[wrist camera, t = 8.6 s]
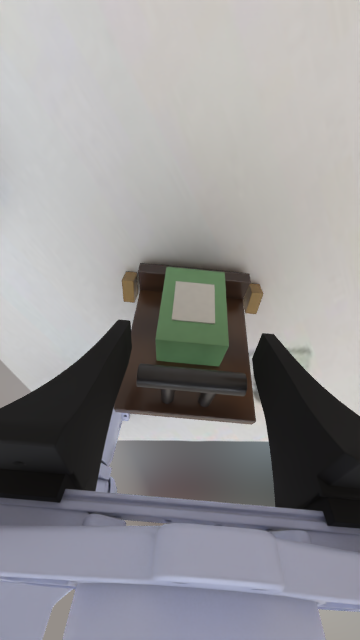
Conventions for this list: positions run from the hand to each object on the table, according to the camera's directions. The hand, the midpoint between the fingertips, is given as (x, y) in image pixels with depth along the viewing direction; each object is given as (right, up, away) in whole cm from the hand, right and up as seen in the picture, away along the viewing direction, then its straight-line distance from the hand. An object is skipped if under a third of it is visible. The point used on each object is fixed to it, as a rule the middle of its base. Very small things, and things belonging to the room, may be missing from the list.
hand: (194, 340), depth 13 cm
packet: (0, +1, +6) cm, 6 cm away
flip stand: (0, -1, +5) cm, 6 cm away
